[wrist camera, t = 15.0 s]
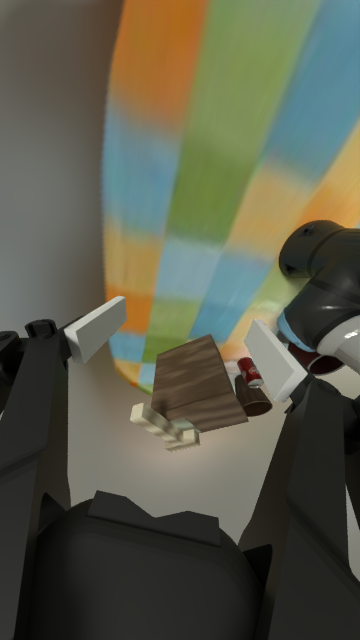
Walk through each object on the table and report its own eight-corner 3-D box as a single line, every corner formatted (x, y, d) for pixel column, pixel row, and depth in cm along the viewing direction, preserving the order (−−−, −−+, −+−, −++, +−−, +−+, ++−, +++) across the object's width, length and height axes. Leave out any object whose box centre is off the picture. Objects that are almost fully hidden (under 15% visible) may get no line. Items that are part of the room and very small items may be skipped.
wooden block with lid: (221, 352, 65) (249, 422, 42) (169, 371, 72) (167, 441, 48) (210, 329, 58) (237, 400, 34) (153, 353, 64) (141, 426, 40)
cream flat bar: (198, 433, 45) (200, 445, 42) (171, 439, 47) (171, 451, 45) (156, 398, 32) (155, 412, 30) (121, 409, 34) (117, 424, 32)
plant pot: (253, 384, 82) (269, 414, 68) (227, 387, 82) (238, 418, 69) (257, 368, 73) (275, 399, 60) (228, 372, 74) (240, 403, 61)
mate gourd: (301, 342, 64) (345, 383, 48) (270, 344, 64) (305, 385, 48) (317, 313, 56) (379, 350, 39) (282, 315, 56) (329, 354, 39)
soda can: (241, 368, 73) (252, 390, 63) (234, 361, 70) (244, 384, 60) (254, 361, 70) (267, 383, 60) (247, 354, 67) (260, 376, 57)
